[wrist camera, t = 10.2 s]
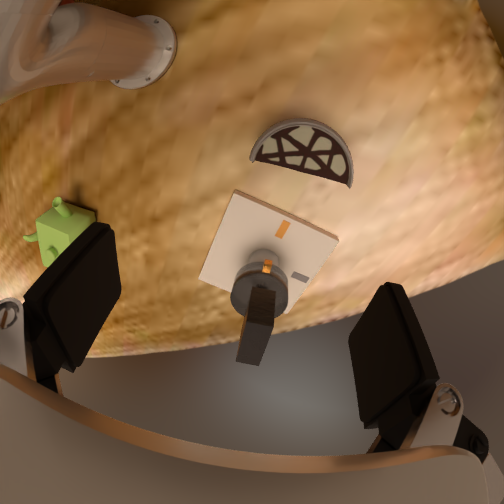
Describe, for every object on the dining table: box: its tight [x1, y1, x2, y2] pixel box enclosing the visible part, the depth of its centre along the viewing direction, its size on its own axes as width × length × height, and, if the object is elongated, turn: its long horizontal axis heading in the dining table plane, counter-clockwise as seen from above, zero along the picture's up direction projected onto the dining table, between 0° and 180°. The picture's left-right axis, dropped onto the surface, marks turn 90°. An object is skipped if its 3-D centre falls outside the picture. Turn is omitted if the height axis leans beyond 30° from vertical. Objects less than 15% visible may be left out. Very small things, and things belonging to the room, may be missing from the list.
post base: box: [198, 190, 339, 314], centre depth 44 cm, size 18×18×7 cm
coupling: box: [230, 259, 288, 366], centre depth 35 cm, size 9×8×12 cm
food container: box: [249, 118, 354, 188], centre depth 31 cm, size 12×6×10 cm, turn 79°
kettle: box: [23, 197, 96, 267], centre depth 43 cm, size 15×14×11 cm
